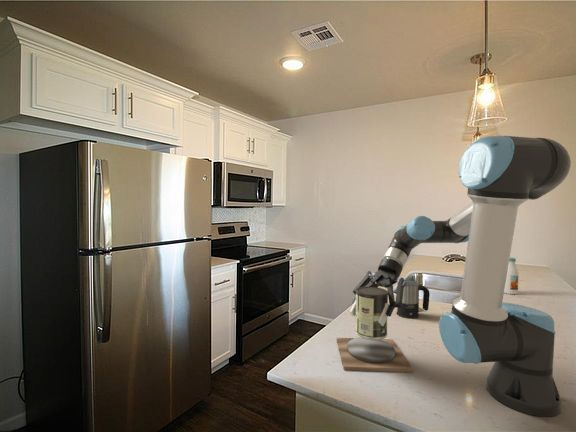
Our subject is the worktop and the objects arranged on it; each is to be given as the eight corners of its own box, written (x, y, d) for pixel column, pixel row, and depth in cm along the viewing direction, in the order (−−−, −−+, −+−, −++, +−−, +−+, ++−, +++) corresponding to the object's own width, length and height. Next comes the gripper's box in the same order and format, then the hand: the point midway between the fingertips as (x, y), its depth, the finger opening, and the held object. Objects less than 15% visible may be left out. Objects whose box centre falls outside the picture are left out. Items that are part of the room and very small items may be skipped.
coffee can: (385, 328, 105) (386, 287, 105) (389, 341, 95) (390, 296, 95) (354, 325, 107) (355, 285, 107) (354, 338, 97) (355, 293, 97)
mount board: (412, 372, 91) (412, 364, 91) (343, 369, 92) (343, 361, 92) (392, 342, 111) (393, 335, 111) (336, 340, 112) (336, 333, 112)
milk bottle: (504, 294, 174) (505, 258, 173) (499, 290, 181) (500, 256, 180) (520, 295, 171) (521, 259, 171) (514, 291, 179) (515, 257, 178)
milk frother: (404, 319, 133) (405, 285, 133) (384, 307, 148) (384, 277, 148) (432, 317, 137) (433, 283, 136) (410, 305, 152) (410, 275, 151)
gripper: (427, 276, 102) (403, 336, 93) (368, 265, 119) (342, 315, 109) (421, 262, 99) (394, 323, 89) (361, 252, 115) (333, 303, 106)
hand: (365, 318), depth 99 cm, fingers closed on coffee can, 10 cm apart
